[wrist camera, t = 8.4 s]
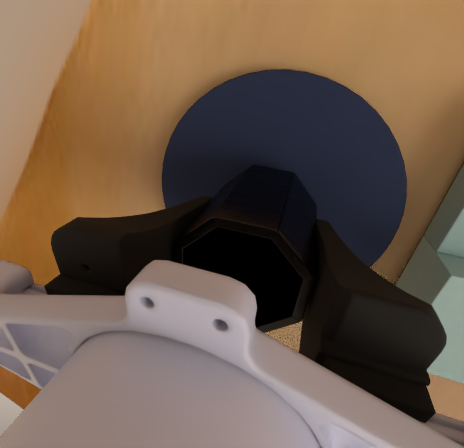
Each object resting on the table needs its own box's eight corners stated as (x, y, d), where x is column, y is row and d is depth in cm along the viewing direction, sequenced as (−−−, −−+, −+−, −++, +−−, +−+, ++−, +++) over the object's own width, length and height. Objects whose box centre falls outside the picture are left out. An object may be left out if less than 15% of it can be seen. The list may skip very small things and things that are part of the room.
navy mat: (467, 211, 13) (472, 216, 12) (271, 317, 20) (270, 323, 20) (266, -8, 11) (263, -12, 11) (132, 197, 19) (127, 201, 18)
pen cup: (324, 176, 13) (329, 241, 8) (301, 259, 15) (293, 347, 10) (224, 159, 14) (171, 206, 9) (219, 239, 16) (175, 310, 11)
